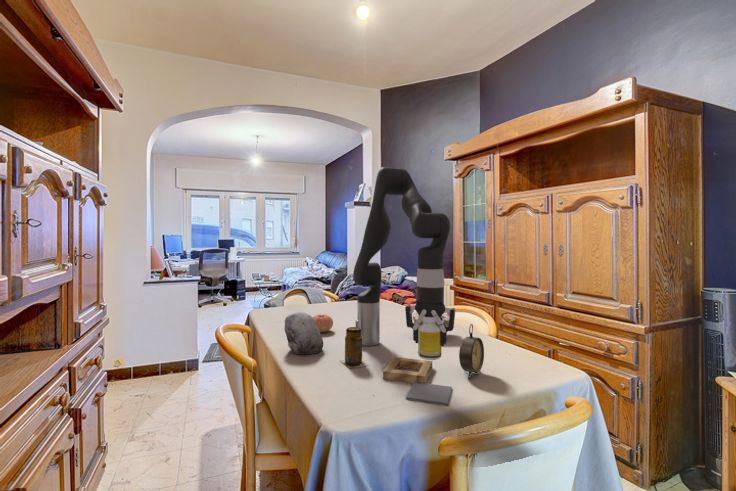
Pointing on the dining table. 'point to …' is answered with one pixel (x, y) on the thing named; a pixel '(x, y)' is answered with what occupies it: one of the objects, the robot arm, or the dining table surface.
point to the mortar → (444, 316)
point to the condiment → (353, 348)
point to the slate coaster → (429, 393)
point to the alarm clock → (471, 354)
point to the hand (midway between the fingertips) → (429, 343)
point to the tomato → (323, 322)
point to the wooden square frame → (407, 376)
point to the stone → (302, 334)
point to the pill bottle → (429, 339)
